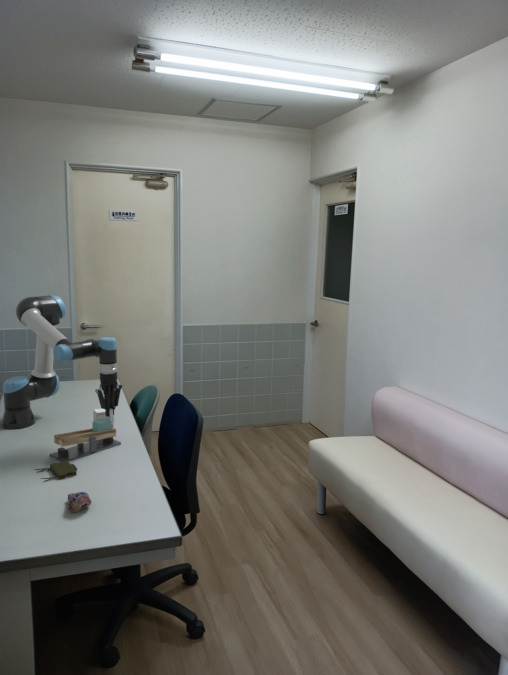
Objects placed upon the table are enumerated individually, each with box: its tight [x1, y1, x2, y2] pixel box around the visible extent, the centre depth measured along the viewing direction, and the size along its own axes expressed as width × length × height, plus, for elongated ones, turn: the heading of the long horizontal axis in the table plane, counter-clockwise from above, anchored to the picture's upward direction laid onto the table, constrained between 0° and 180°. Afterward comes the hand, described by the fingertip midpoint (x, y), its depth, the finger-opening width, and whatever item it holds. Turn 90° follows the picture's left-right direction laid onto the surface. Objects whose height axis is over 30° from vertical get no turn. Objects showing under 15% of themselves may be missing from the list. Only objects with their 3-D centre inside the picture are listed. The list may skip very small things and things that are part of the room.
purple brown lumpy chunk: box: [66, 491, 93, 513], centre depth 173 cm, size 12×8×6 cm, turn 33°
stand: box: [49, 437, 122, 463], centre depth 221 cm, size 11×28×7 cm, turn 140°
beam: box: [53, 427, 117, 448], centre depth 220 cm, size 8×26×3 cm, turn 140°
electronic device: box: [32, 461, 78, 483], centre depth 198 cm, size 14×3×15 cm
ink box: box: [92, 408, 115, 429], centre depth 241 cm, size 9×5×12 cm, turn 123°
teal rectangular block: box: [91, 419, 112, 433], centre depth 226 cm, size 4×7×5 cm, turn 141°
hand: (110, 422), depth 229 cm, fingers closed
